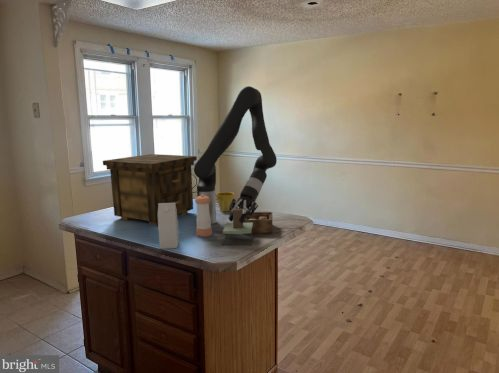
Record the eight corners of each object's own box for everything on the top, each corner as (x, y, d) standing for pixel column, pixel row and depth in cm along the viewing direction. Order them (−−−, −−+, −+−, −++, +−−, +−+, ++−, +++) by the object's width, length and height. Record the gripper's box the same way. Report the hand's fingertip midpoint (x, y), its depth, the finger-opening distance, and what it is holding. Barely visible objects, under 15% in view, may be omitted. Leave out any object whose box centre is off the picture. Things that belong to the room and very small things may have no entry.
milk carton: (162, 243, 162) (159, 201, 158) (178, 242, 162) (176, 200, 159) (159, 249, 155) (156, 205, 151) (176, 248, 155) (174, 204, 152)
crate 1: (154, 206, 230) (150, 154, 223) (199, 212, 213) (196, 156, 206) (108, 220, 200) (102, 160, 194) (156, 229, 183) (151, 164, 177)
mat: (221, 245, 158) (221, 244, 158) (225, 235, 171) (225, 234, 171) (251, 245, 157) (251, 244, 157) (253, 235, 170) (253, 234, 170)
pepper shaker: (195, 232, 176) (193, 193, 172) (210, 231, 178) (208, 192, 174) (197, 237, 169) (195, 196, 165) (213, 235, 171) (211, 195, 167)
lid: (223, 233, 158) (222, 212, 156) (226, 225, 170) (226, 206, 168) (250, 233, 157) (250, 212, 155) (252, 225, 169) (252, 205, 167)
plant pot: (232, 212, 211) (231, 195, 209) (214, 211, 213) (214, 195, 211) (236, 208, 221) (235, 192, 219) (219, 207, 223) (219, 191, 221)
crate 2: (242, 233, 173) (242, 219, 172) (244, 224, 187) (244, 212, 185) (272, 233, 172) (272, 219, 171) (272, 225, 186) (272, 212, 184)
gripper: (235, 183, 170) (219, 214, 163) (260, 186, 161) (243, 219, 154) (243, 192, 175) (227, 222, 168) (267, 196, 166) (252, 228, 159)
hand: (235, 221), depth 161 cm, fingers closed on lid, 5 cm apart
